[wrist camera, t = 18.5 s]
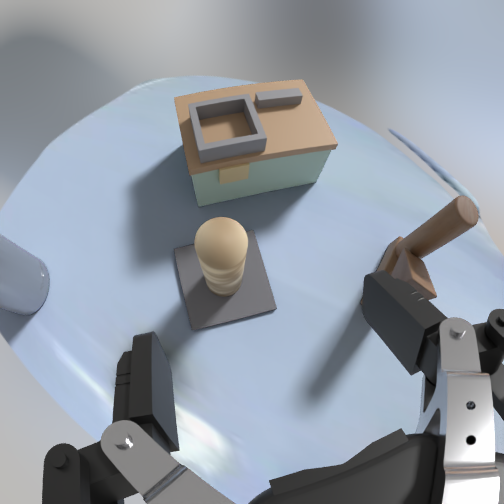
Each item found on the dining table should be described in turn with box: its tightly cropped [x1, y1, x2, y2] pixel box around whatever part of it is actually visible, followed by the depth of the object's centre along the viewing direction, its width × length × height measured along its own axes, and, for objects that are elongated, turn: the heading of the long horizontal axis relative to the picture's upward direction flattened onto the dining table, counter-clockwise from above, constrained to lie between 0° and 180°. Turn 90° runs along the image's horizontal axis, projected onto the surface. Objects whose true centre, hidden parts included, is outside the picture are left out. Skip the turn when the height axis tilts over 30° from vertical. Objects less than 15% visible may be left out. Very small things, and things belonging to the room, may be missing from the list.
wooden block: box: [361, 196, 478, 305], centre depth 34 cm, size 4×11×18 cm, turn 146°
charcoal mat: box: [174, 230, 277, 330], centre depth 40 cm, size 11×11×1 cm
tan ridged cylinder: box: [194, 217, 248, 297], centre depth 33 cm, size 5×5×14 cm
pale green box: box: [174, 80, 338, 207], centre depth 41 cm, size 19×13×13 cm
